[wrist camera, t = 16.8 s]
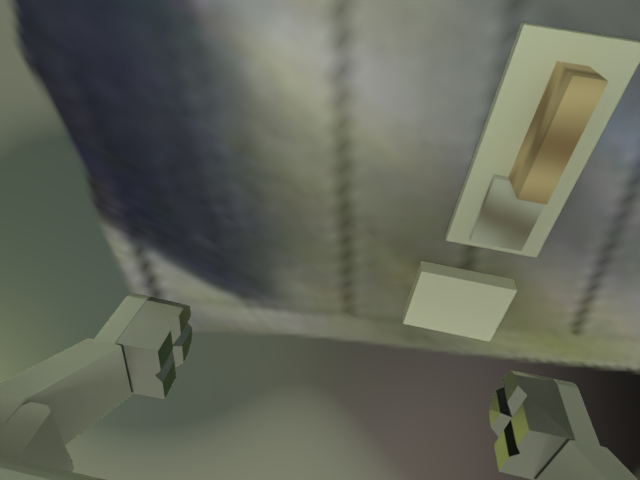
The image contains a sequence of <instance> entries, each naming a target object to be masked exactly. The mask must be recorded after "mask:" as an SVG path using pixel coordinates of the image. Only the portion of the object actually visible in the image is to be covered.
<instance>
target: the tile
mask: <svg viewBox="0 0 640 480" xmlns="http://www.w3.org/2000/svg"><path fill="white" fill-rule="evenodd" d="M516 292H517V288H516V284H515V281H514V279H509V278H504V277H499V276H494V275H489V274H484V273H479V272H474V271H469V270H464V269H459V268H454V267H449V266H444V265H439V264H434V263H429V262H424V261H421V262H420V265H419V268H418V271H417V274H416V277H415V280H414V283H413V286H412V288H411V291H410V294H409V297H408V300H407V303H406V306H405V309H404V312H403V324H408V325H412V326H417V327H422V328H427V329H432V330H436V331H441V332H446V333H451V334H456V335H460V336H465V337H470V338H475V339H480V340H484V341H489V342H490V340H491V339H492V337H493V335H494V333H495V331H496V329H497V327H498V326H499V324H500V322H501V320H502V318H503V316H504V315H505V313H506V311H507V309H508V307H509V305H510V303H511V302H512V300H513V298H514V296H515V294H516Z"/></svg>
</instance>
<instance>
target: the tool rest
mask: <svg viewBox="0 0 640 480" xmlns="http://www.w3.org/2000/svg"><path fill="white" fill-rule="evenodd" d="M557 61H561V62H567V63H573V64H579V65H585V66H590V67H591V68H592V69H593V70H595V71H596V72H597V73H599V74H600V75H601V76H602V77H604V78H605V79H606V80H608V83H607V85H606V87H605V89H604V91H603V93H602V95H601V97H600V99H599V101H598V103H597V105H596V107H595V109H594V111H593V113H592V115H591V117H590V119H589V121H588V123H587V125H586V127H585V129H584V131H583V133H582V135H581V137H580V139H579V141H578V143H577V145H576V147H575V149H574V151H573V153H572V155H571V157H570V159H569V161H568V163H567V165H566V167H565V169H564V171H563V173H562V175H561V177H560V179H559V181H558V183H557V185H556V187H555V189H554V191H553V193H552V195H551V197H550V199H549V201H548V203H547V205H546V204H545V205H544V207H543V209H542V211H541V213H540V215H539V217H538V219H537V221H536V223H535V225H534V227H533V229H532V231H531V233H530V235H529V237H528V239H527V241H526V243H525V245H524V247H523V249H522V251H517V250H512V249H507V248H501V247H496V246H490V245H485V244H480V243H474V242H470V240H469V236H470V233H471V231H472V228H473V225H474V223H475V220H476V218H477V215H478V213H479V210H480V208H481V205H482V203H483V200H484V198H485V195H486V193H487V190H488V188H489V185H490V182H491V180H492V177H493V175H494V174H495V175H500V176H506V177H508V176H509V174H510V172H511V169H512V167H513V165H514V162H515V160H516V157H517V155H518V153H519V150H520V148H521V145H522V143H523V141H524V138H525V136H526V134H527V131H528V129H529V126H530V124H531V122H532V119H533V117H534V114H535V112H536V110H537V107H538V105H539V102H540V100H541V98H542V95H543V93H544V91H545V88H546V86H547V83H548V81H549V79H550V76H551V74H552V71H553V69H554V67H555V64H556V62H557ZM639 62H640V41H638V40H631V39H625V38H619V37H612V36H606V35H600V34H594V33H587V32H581V31H575V30H568V29H562V28H556V27H549V26H543V25H537V24H531V23H524V22H521V24H520V26H519V29H518V32H517V35H516V38H515V41H514V43H513V46H512V49H511V52H510V55H509V57H508V60H507V63H506V66H505V69H504V71H503V74H502V77H501V80H500V83H499V85H498V88H497V91H496V94H495V97H494V100H493V102H492V105H491V108H490V111H489V114H488V116H487V119H486V122H485V125H484V128H483V130H482V133H481V136H480V139H479V142H478V144H477V147H476V150H475V153H474V156H473V159H472V161H471V164H470V167H469V170H468V173H467V175H466V178H465V181H464V184H463V187H462V189H461V192H460V195H459V198H458V201H457V203H456V206H455V209H454V212H453V215H452V218H451V220H450V223H449V226H448V229H447V232H446V234H445V237H446V241H450V242H456V243H461V244H466V245H472V246H477V247H482V248H488V249H493V250H498V251H504V252H509V253H514V254H520V255H525V256H530V257H537V256H538V254H539V252H540V250H541V248H542V246H543V244H544V242H545V240H546V238H547V237H548V235H549V233H550V231H551V229H552V227H553V225H554V223H555V221H556V220H557V218H558V216H559V214H560V212H561V210H562V208H563V206H564V204H565V202H566V201H567V199H568V197H569V195H570V193H571V191H572V189H573V187H574V185H575V183H576V182H577V180H578V178H579V176H580V174H581V172H582V170H583V168H584V166H585V165H586V163H587V161H588V159H589V157H590V155H591V153H592V151H593V149H594V147H595V146H596V144H597V142H598V140H599V138H600V136H601V134H602V132H603V130H604V128H605V127H606V125H607V123H608V121H609V119H610V117H611V115H612V113H613V111H614V110H615V108H616V106H617V104H618V102H619V100H620V98H621V96H622V94H623V92H624V91H625V89H626V87H627V85H628V83H629V81H630V79H631V77H632V75H633V73H634V72H635V70H636V68H637V66H638V64H639Z"/></svg>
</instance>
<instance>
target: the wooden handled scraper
mask: <svg viewBox="0 0 640 480" xmlns="http://www.w3.org/2000/svg"><path fill="white" fill-rule="evenodd" d="M607 83H608V80H606V79H605V78H604V77H602V76H601V75H600V74H599V73H597V72H596V71H595V70H593V69H592V68H591V67H590V66H585V65H579V64H573V63H567V62H561V61H557V62H556V64H555V67H554V69H553V71H552V74H551V76H550V79H549V81H548V83H547V86H546V88H545V91H544V93H543V95H542V98H541V100H540V102H539V105H538V107H537V110H536V112H535V114H534V117H533V119H532V122H531V124H530V126H529V129H528V131H527V134H526V136H525V138H524V141H523V143H522V145H521V148H520V150H519V153H518V155H517V157H516V160H515V162H514V165H513V167H512V169H511V172H510V174H509V176H508V177H506V176H500V175H495V174H494V175H493V177H492V180H491V182H490V185H489V188H488V190H487V193H486V195H485V198H484V200H483V203H482V205H481V208H480V210H479V213H478V215H477V218H476V220H475V223H474V225H473V228H472V231H471V233H470V236H469V240H470V242H474V243H480V244H485V245H490V246H496V247H501V248H507V249H512V250H517V251H522V249H523V247H524V245H525V243H526V241H527V239H528V237H529V235H530V233H531V231H532V229H533V227H534V225H535V223H536V221H537V219H538V217H539V215H540V213H541V211H542V209H543V207H544V205H545V204H546V205H547V203H548V201H549V199H550V197H551V195H552V193H553V191H554V189H555V187H556V185H557V183H558V181H559V179H560V177H561V175H562V173H563V171H564V169H565V167H566V165H567V163H568V161H569V159H570V157H571V155H572V153H573V151H574V149H575V147H576V145H577V143H578V141H579V139H580V137H581V135H582V133H583V131H584V129H585V127H586V125H587V123H588V121H589V119H590V117H591V115H592V113H593V111H594V109H595V107H596V105H597V103H598V101H599V99H600V97H601V95H602V93H603V91H604V89H605V87H606V85H607Z"/></svg>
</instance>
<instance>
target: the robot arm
mask: <svg viewBox="0 0 640 480" xmlns="http://www.w3.org/2000/svg"><path fill="white" fill-rule="evenodd" d="M190 316H191V311H190V306H188V305H185V304H180V303H176V302H172V301H167V300H163V299H159V298H154V297H149V296H144V295H140V294H135V293H131V294H130V295H128V296H127V297H126V298H125V299H124V300H123V302H122V303H121V304H120V306H119V307H118V308H117V310H116V311H115V312H114V314H113V315H112V316H111V318H110V319H109V320H108V322H107V323H106V324H105V326H104V327H103V328H102V330H101V331H100V332H99V333H98V335H97V336H96V337H95V339H86V340H84V341H82V342H80V343H78V344H76V345H74V346H72V347H70V348H68V349H66V350H65V351H63V352H60V353H59V354H56V355H54V356H52V357H51V358H49V359H47V360H45V361H43V362H41V363H39V364H37V365H35V366H33V367H31V368H29V369H27V370H25V371H23V372H21V373H19V374H17V375H15V376H13V377H11V378H9V379H7V380H5V381H3V382H1V383H0V480H105V479H100V478H96V477H91V476H87V475H83V474H79V473H74V472H72V471H73V469H74V466H73V462H72V459H71V457H70V455H69V453H68V450H67V448H66V446H65V445H66V444H67V443H69V442H70V441H71V440H73V439H74V438H75V437H77V436H78V435H79V434H81V433H82V432H83V431H85V430H86V429H87V428H89V427H90V426H91V425H93V424H94V423H95V422H97V421H98V420H99V419H101V418H102V417H103V416H104V415H106V414H107V413H108V412H110V411H111V410H112V409H114V408H115V407H117V406H118V405H119V404H121V403H122V402H123V401H124V400H126V399H127V398H128V397H130V396H131V395H132V393H136V394H141V395H146V396H151V397H157V398H162V399H165V398H166V396H167V394H168V392H169V390H170V388H171V386H172V384H173V382H174V380H175V378H176V370H175V368H176V367H177V366H179V365H181V364H182V363H184V361H185V359H186V356H187V354H188V352H189V348H190V345H191V341H192V327H191V326H190V325H189V323H188V320H189V318H190ZM503 384H504V387H503V388H500V389H498V390H496V392H495V393H494V395H493V397H492V399H491V405H490V423H491V428H492V429H493V431H494V432H495V433H496V434H497V436H498V437H499V438H498V440H497V441H496V443H495V445H494V447H495V453H496V459H497V464H498V470H499V472H504V473H507V474H512V475H516V476H520V477H524V478H528V479H532V480H637V479H636V478H635V477H634V475H633V474H632V473H631V472H630V471H629V470H628V469H627V468H626V467H625V466H624V465H623V464H622V463H621V462H620V461H619V460H618V459H617V458H616V457H615V456H614V455H613V454H612V453H611V452H610V451H609V450H608V449H607V448H606V447H601V446H600V445H599V442H598V439H597V437H596V434H595V431H594V429H593V426H592V424H591V421H590V418H589V416H588V413H587V410H586V408H585V405H584V403H583V400H582V398H581V395H580V392H579V390H578V387H577V386H576V385H575V384H574V383H571V382H566V381H561V380H556V379H550V378H547V377H542V376H537V375H532V374H526V373H521V372H516V371H509V372H507V373H506V375H505V376H504V378H503Z"/></svg>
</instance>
